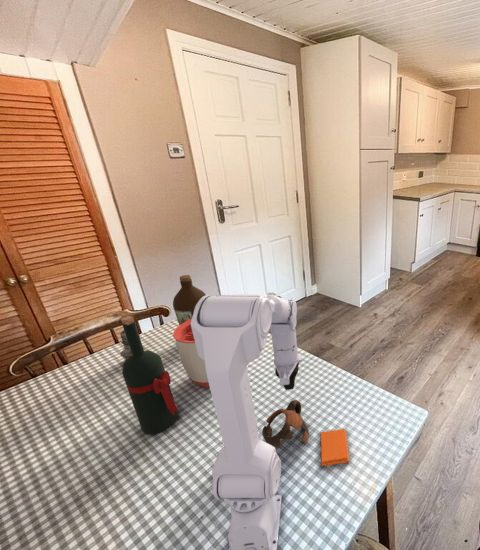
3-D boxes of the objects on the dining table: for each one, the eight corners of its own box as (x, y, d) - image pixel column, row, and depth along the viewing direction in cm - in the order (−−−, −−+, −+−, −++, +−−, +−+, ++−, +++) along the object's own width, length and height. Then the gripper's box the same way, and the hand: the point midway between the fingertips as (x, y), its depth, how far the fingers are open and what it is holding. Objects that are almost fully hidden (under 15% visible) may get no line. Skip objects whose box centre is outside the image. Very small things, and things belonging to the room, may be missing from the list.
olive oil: (198, 329, 117) (185, 269, 108) (221, 334, 114) (209, 272, 105) (175, 345, 107) (158, 280, 98) (200, 350, 105) (184, 284, 95)
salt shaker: (126, 356, 101) (115, 325, 97) (147, 352, 103) (137, 321, 99) (121, 367, 96) (109, 335, 92) (143, 362, 98) (133, 330, 94)
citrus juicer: (228, 396, 85) (216, 335, 77) (173, 389, 87) (156, 329, 80) (256, 361, 99) (247, 307, 92) (207, 356, 102) (196, 303, 94)
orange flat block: (349, 462, 67) (348, 458, 66) (321, 466, 66) (321, 462, 66) (345, 431, 74) (345, 428, 74) (320, 435, 73) (320, 431, 73)
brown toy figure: (307, 456, 69) (285, 440, 64) (274, 462, 72) (251, 446, 68) (317, 406, 78) (299, 389, 74) (288, 413, 81) (269, 397, 77)
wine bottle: (167, 440, 72) (132, 331, 61) (133, 431, 74) (94, 324, 63) (193, 414, 79) (165, 313, 68) (161, 406, 81) (130, 307, 70)
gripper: (300, 360, 68) (304, 407, 73) (302, 327, 81) (305, 368, 86) (267, 364, 67) (274, 410, 72) (275, 329, 80) (280, 370, 85)
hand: (289, 387), depth 79 cm, fingers closed
